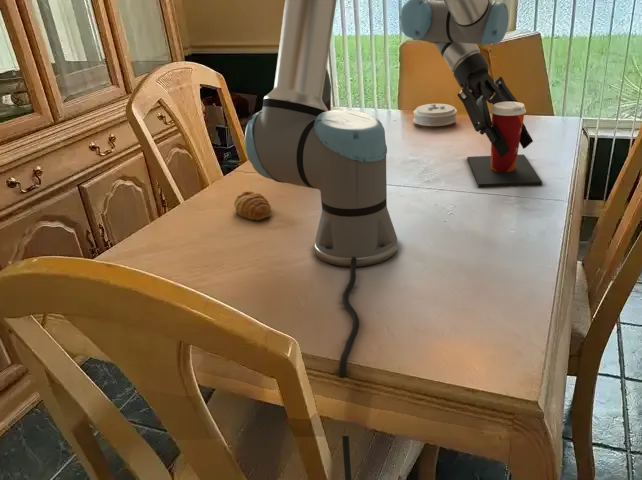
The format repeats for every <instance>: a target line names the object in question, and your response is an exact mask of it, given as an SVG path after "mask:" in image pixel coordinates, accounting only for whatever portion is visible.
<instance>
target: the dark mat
mask: <svg viewBox="0 0 642 480" xmlns="http://www.w3.org/2000/svg"><path fill="white" fill-rule="evenodd" d="M466 158H467V159H466V160H467V162H468V164H469V167H470V171H471V173H472V175H473V177H474V180H475V182H476V185H477V187H478V188H479V189H480V188H505V187H528V186H529V187H531V186H542V185H543V180H542V179H541V177H540V176H539V175H538V174H537V171H536V170H535V169H534V167H533V166H532V164H531V163H530V161H529V160H528V158H527V156H526V155H525V154H522V153H521V154H517V160H516V165H515V169H514V170H513V171H510V172H496V171H493V170H492V169H491V155H477V156H475V155H474V156H466Z"/></svg>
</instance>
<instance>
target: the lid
mask: <svg viewBox="0 0 642 480" xmlns="http://www.w3.org/2000/svg"><path fill="white" fill-rule="evenodd" d="M457 113H458V110H457V108H456V107H455V106H453V105H451V104H447V103H427V104H422V105H419V106H417V107H416V108H415V109H414V110H413V115H414V117H413V123H414V124H416V125H419V126H424V127H442V126H448V125H452V124H455V123H456V122H457Z"/></svg>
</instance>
